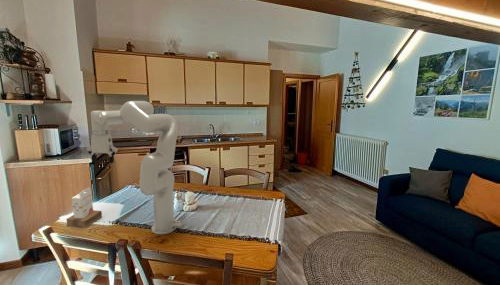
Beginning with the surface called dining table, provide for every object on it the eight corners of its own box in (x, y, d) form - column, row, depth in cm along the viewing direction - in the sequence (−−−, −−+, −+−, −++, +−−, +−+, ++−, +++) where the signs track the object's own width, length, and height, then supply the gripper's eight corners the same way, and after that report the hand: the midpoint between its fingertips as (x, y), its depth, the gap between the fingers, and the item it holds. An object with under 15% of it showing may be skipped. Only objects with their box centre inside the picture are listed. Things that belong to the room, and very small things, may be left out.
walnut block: (102, 218, 132) (101, 211, 131) (86, 228, 121) (85, 220, 120) (84, 216, 133) (83, 209, 132) (67, 226, 122) (66, 219, 122)
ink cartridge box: (84, 211, 131) (81, 186, 128) (93, 211, 131) (91, 186, 128) (73, 218, 122) (70, 192, 119) (83, 219, 122) (80, 192, 119)
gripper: (119, 132, 133) (121, 161, 136) (90, 131, 134) (92, 160, 137) (111, 134, 126) (114, 164, 129) (80, 133, 126) (83, 163, 129)
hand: (103, 162), depth 133 cm, fingers open, 9 cm apart
